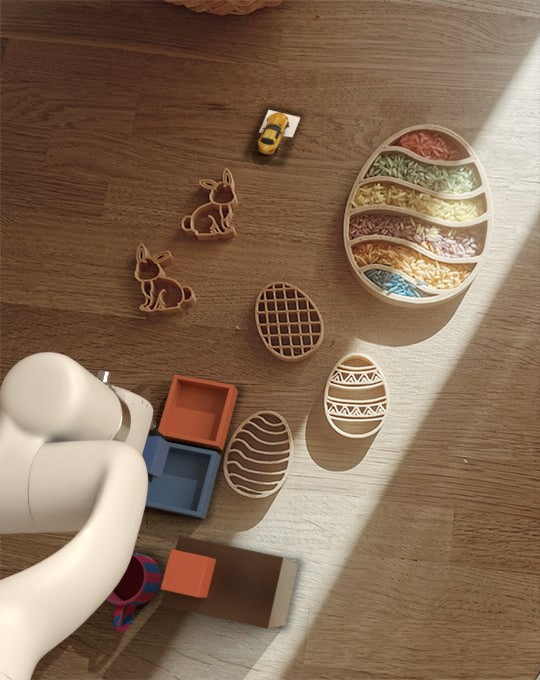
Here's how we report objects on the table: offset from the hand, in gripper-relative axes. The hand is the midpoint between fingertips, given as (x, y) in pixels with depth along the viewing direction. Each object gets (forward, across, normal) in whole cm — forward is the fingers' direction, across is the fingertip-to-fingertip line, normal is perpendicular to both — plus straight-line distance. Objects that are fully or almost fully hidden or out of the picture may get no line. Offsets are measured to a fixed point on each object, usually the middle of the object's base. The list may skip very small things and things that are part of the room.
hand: (146, 456), depth 90 cm
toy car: (+18, -60, 0) cm, 62 cm away
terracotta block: (+2, +12, +9) cm, 15 cm away
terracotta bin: (+18, -10, 0) cm, 20 cm away
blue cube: (+1, 0, 0) cm, 1 cm away
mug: (+18, +16, -2) cm, 24 cm away
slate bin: (+18, 0, 0) cm, 18 cm away
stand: (+18, +12, +13) cm, 25 cm away
